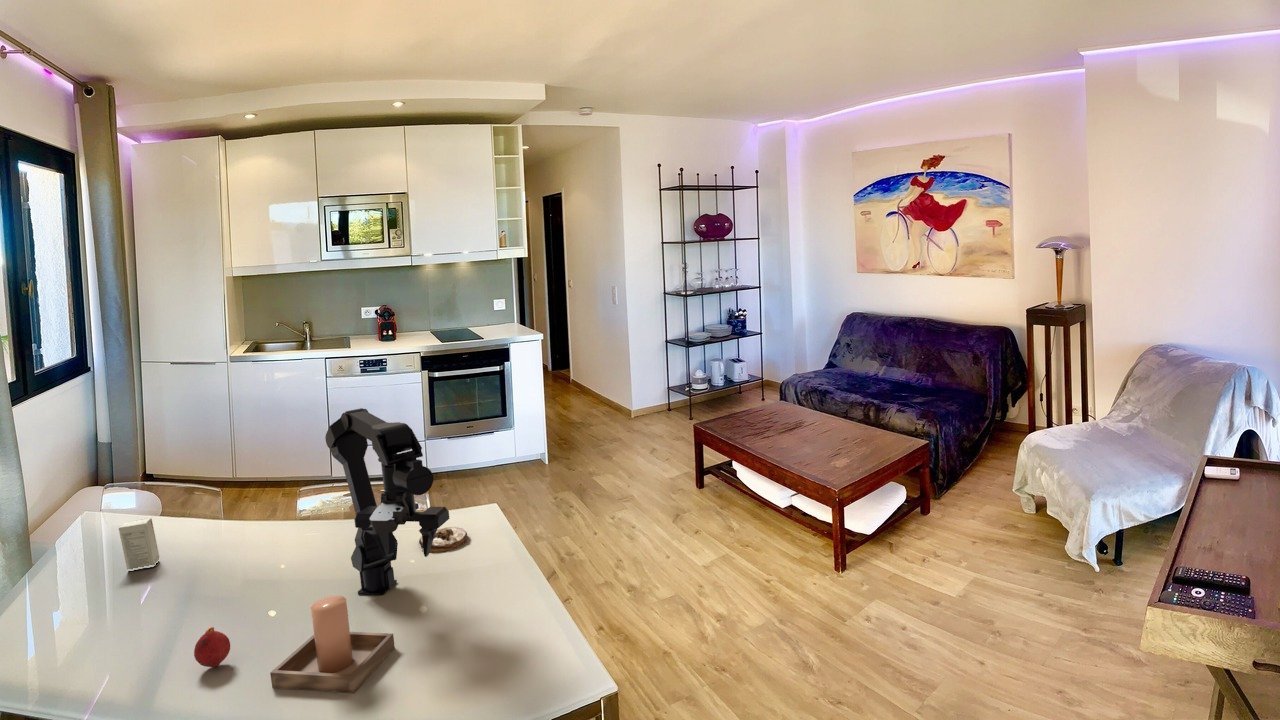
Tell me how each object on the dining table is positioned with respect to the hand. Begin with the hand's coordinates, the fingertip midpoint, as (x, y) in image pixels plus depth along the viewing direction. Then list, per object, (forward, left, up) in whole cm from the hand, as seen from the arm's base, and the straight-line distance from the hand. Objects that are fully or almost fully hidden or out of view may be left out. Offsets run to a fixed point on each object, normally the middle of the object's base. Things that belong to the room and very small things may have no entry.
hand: (406, 555), depth 145 cm
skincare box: (-84, +17, -13) cm, 87 cm away
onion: (-29, -22, -13) cm, 39 cm away
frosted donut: (-10, +36, -14) cm, 40 cm away
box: (-5, -20, -13) cm, 24 cm away
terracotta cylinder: (-5, -20, -12) cm, 24 cm away
